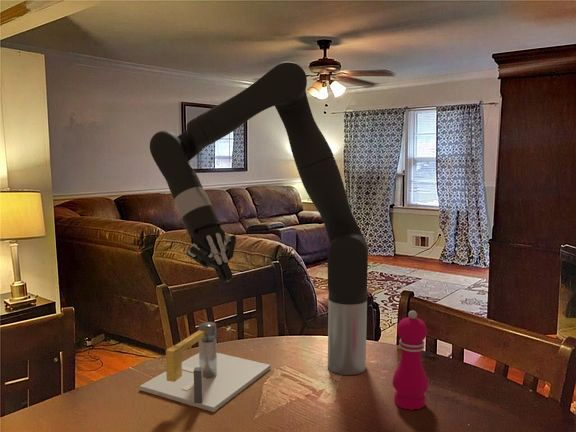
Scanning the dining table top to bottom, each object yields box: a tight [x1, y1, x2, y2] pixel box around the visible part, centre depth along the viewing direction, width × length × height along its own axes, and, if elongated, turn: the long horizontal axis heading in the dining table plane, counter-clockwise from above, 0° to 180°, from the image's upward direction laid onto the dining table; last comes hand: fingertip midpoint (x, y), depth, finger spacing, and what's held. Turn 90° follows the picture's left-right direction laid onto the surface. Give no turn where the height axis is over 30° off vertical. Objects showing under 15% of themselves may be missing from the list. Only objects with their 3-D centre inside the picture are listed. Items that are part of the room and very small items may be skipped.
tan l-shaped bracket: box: [165, 321, 217, 382], centre depth 107 cm, size 17×4×7 cm, turn 159°
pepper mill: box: [392, 310, 429, 411], centre depth 102 cm, size 7×7×20 cm
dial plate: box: [139, 352, 272, 413], centre depth 114 cm, size 23×20×8 cm
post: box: [198, 338, 218, 379], centre depth 114 cm, size 4×4×8 cm
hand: (227, 280), depth 108 cm, fingers closed
